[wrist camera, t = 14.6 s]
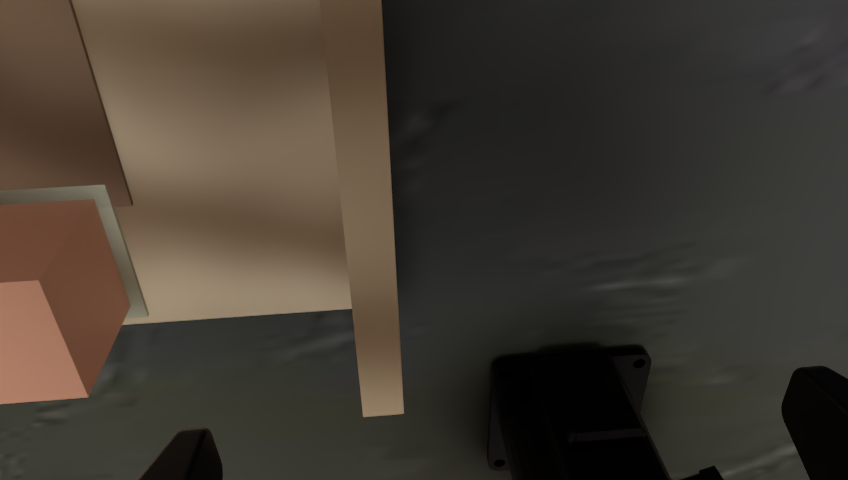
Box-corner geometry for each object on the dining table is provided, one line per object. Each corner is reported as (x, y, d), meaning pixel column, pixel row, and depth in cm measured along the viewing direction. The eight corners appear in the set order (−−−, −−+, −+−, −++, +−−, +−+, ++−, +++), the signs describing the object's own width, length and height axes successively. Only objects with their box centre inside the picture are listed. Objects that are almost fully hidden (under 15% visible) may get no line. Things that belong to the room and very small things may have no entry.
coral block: (130, 305, 22) (88, 397, 19) (3, 314, 22) (-64, 408, 19) (94, 199, 20) (38, 280, 16) (-48, 207, 20) (-136, 291, 16)
